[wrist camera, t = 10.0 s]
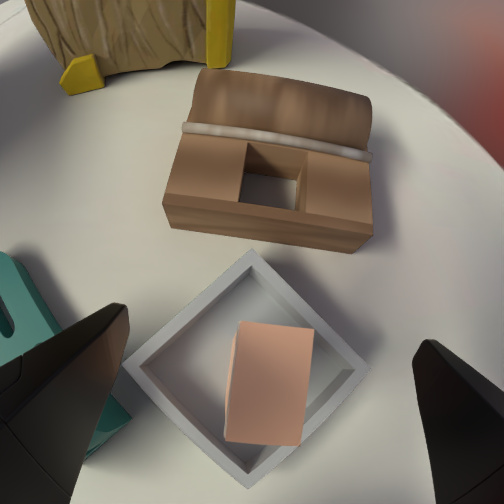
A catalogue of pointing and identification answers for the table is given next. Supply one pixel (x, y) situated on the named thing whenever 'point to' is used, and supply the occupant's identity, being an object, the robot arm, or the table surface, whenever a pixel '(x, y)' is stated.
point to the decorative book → (131, 35)
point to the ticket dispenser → (274, 161)
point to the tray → (218, 360)
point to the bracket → (41, 336)
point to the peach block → (268, 384)
